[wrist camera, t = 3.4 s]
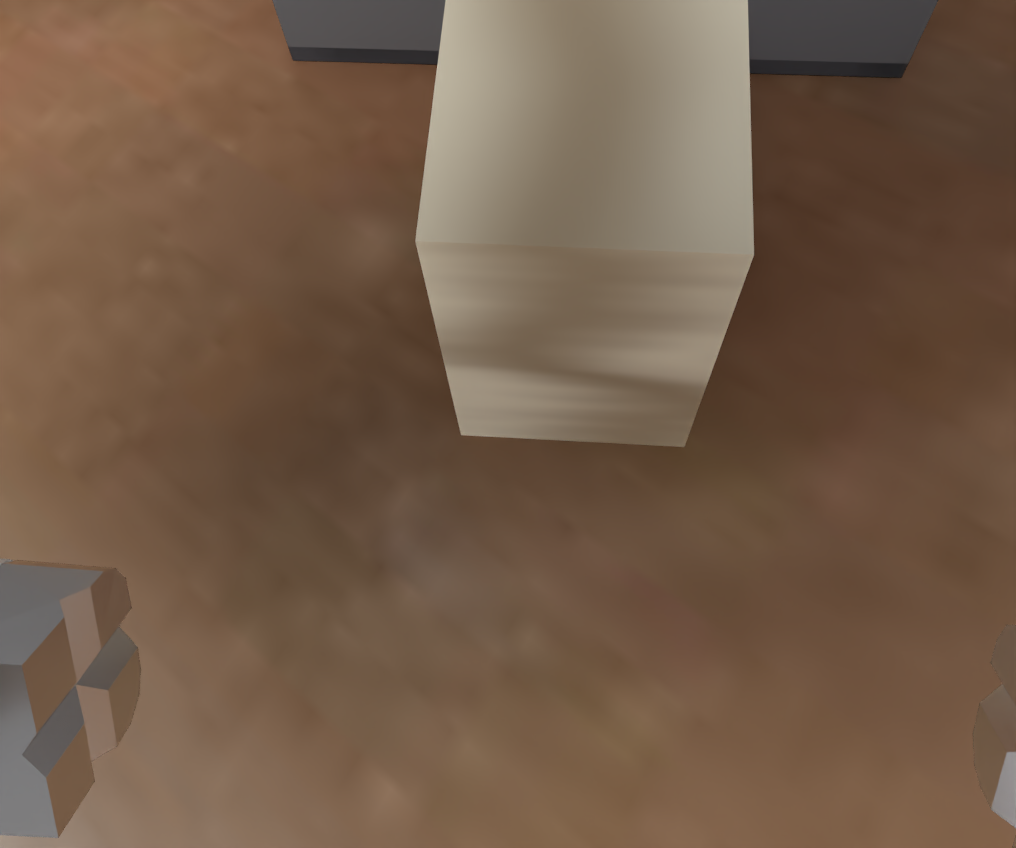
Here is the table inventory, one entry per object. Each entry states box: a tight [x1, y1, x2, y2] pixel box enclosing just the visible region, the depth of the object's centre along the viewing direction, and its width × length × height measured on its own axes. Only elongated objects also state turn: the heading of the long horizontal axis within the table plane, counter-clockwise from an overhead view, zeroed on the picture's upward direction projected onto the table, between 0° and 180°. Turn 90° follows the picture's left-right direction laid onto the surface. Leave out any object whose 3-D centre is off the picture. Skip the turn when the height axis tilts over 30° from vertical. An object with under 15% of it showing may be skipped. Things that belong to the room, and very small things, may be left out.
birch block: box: [415, 0, 754, 447], centre depth 19 cm, size 5×5×8 cm
